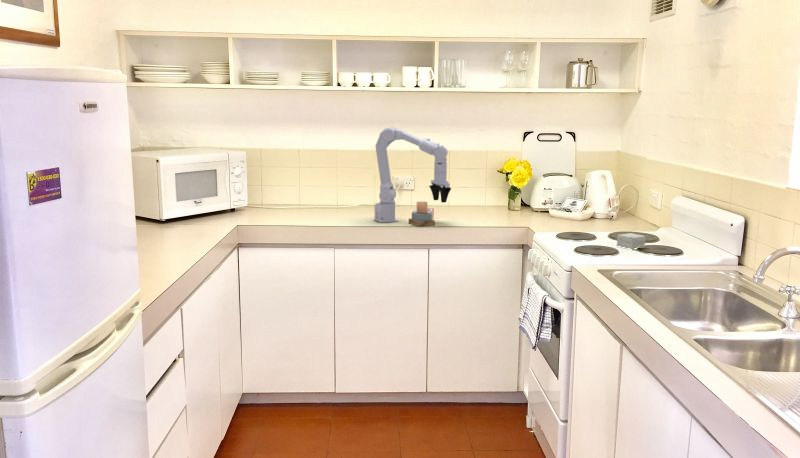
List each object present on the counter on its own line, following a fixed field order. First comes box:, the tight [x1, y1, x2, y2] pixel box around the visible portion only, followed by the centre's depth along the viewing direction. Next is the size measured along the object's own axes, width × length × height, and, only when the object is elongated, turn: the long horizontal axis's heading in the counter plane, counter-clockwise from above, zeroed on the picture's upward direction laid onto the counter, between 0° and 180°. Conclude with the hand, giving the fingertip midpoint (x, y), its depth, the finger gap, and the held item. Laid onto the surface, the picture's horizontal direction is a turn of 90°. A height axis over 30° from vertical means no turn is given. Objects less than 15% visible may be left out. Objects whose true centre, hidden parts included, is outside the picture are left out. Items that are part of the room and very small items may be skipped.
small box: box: [616, 232, 646, 249], centre depth 270 cm, size 8×8×5 cm
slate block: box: [411, 211, 433, 221], centre depth 313 cm, size 7×7×3 cm
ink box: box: [412, 207, 435, 220], centre depth 327 cm, size 8×5×12 cm
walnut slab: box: [408, 218, 436, 228], centre depth 314 cm, size 9×9×3 cm
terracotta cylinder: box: [416, 201, 428, 214], centre depth 312 cm, size 5×5×5 cm
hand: (439, 201), depth 316 cm, fingers open, 7 cm apart
